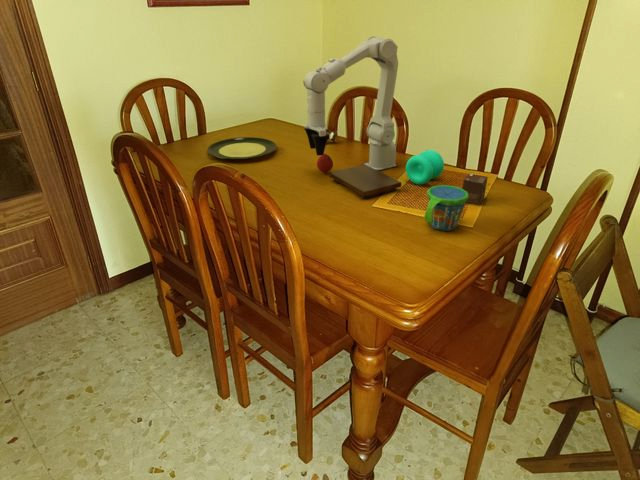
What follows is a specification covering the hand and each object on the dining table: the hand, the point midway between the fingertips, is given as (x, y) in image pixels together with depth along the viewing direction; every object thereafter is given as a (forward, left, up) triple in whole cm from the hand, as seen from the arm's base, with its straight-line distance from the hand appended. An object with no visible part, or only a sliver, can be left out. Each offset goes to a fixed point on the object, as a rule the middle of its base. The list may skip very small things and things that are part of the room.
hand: (316, 151), depth 152 cm
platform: (-10, +14, -10) cm, 20 cm away
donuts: (-30, +21, -10) cm, 38 cm away
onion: (-5, -3, -10) cm, 12 cm away
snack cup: (-12, +49, -10) cm, 52 cm away
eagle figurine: (-28, -31, -8) cm, 42 cm away
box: (-32, +41, -10) cm, 53 cm away
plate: (+11, -41, -10) cm, 43 cm away
